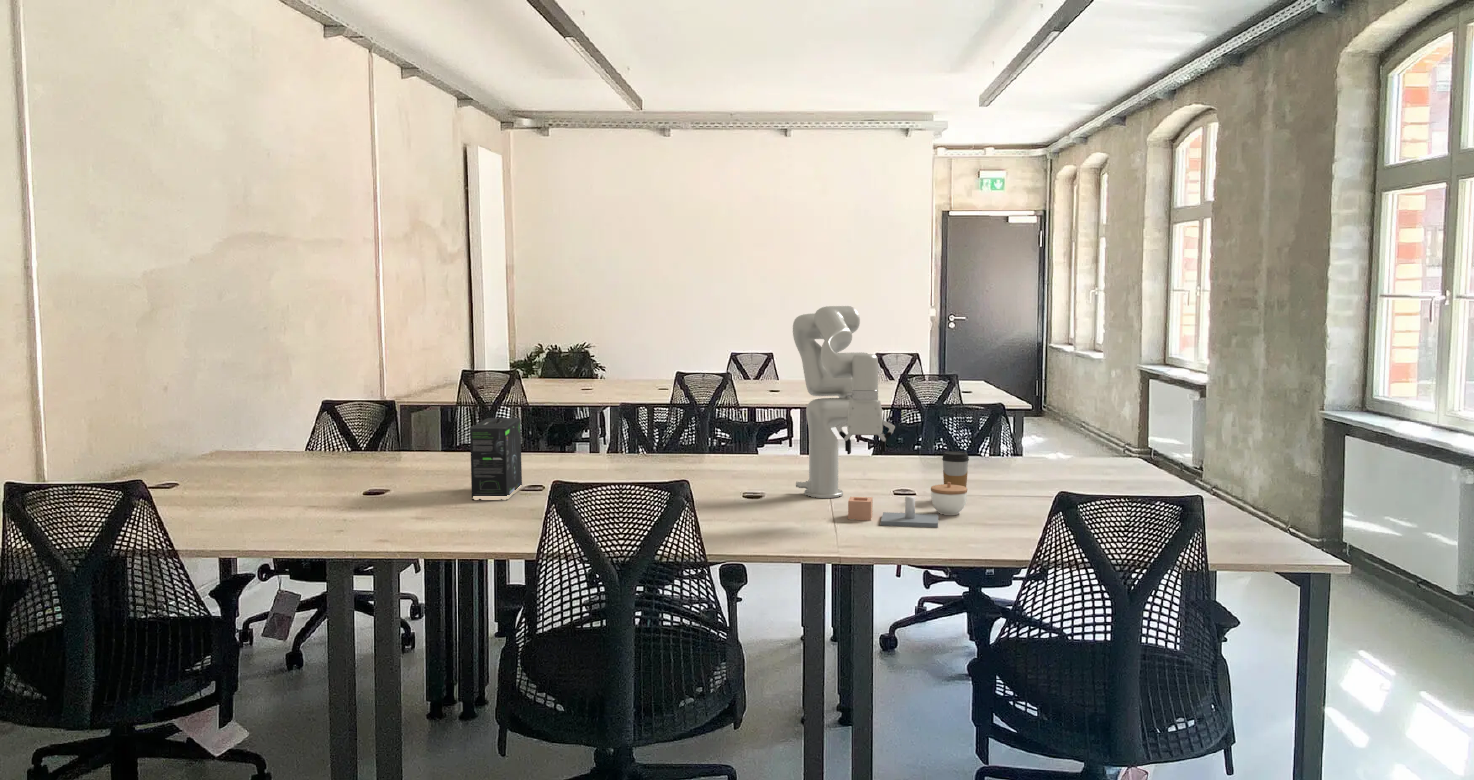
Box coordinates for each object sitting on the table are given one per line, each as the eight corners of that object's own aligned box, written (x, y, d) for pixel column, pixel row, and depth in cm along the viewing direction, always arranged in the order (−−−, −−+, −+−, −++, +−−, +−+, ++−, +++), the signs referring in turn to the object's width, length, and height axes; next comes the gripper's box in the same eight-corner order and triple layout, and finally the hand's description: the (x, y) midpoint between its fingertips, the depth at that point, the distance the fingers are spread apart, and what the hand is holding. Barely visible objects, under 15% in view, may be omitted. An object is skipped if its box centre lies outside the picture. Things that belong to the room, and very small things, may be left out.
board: (880, 525, 301) (880, 500, 300) (883, 516, 312) (883, 492, 312) (937, 527, 297) (938, 502, 297) (938, 518, 309) (938, 494, 308)
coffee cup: (968, 502, 332) (969, 455, 330) (941, 501, 333) (942, 454, 332) (968, 497, 340) (968, 451, 338) (941, 496, 341) (942, 450, 340)
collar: (848, 519, 308) (848, 501, 308) (850, 514, 314) (850, 496, 314) (870, 520, 307) (871, 501, 306) (872, 515, 313) (872, 497, 313)
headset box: (507, 501, 337) (505, 420, 335) (470, 500, 338) (468, 420, 335) (523, 487, 360) (521, 412, 357) (488, 487, 360) (486, 412, 357)
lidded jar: (964, 518, 310) (965, 486, 309) (928, 515, 313) (928, 484, 312) (968, 510, 320) (969, 480, 319) (933, 508, 323) (933, 478, 322)
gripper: (834, 396, 308) (834, 455, 309) (893, 397, 304) (893, 456, 305) (837, 395, 315) (838, 452, 316) (896, 395, 311) (896, 453, 312)
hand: (865, 454), depth 311 cm, fingers open, 9 cm apart
